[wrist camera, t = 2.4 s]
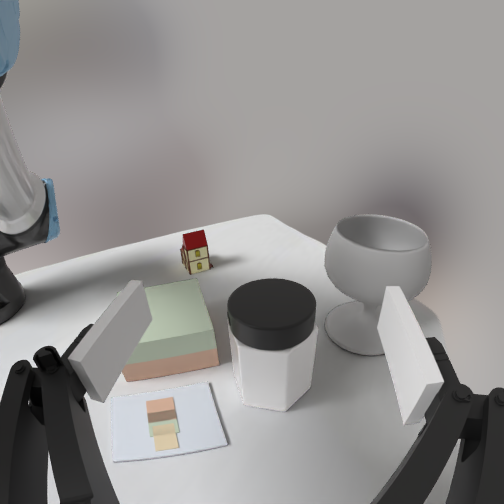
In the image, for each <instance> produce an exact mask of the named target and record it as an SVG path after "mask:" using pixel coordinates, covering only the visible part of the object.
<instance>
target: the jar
mask: <svg viewBox="0 0 504 504" xmlns="http://www.w3.org/2000/svg"><path fill="white" fill-rule="evenodd" d="M227 307H228V312H227V314H228V318H227V321H228V329H229V338H230V346H231V354H232V363H233V371H234V378H235V381H236V384H237V387H238V390H239V393H240V396H241V398H242V401H243V404H244V405H245V406H250V407H256V408H262V409H269V410H275V411H282V412H285V411H287V410H288V409H289V408H290V407H291V406H292V405H293V404H294V403H295V402H296V401H297V400H298V399H299V398H300V397H301V396H302V395H303V394H304V393H305V392H306V391H307V390H308V389H309V388H310V387H311V380H312V374H313V367H314V360H315V353H316V345H317V337H318V326H317V325H316V324H315V313H316V300H315V297H314V295H313V294H312V293H311V291H310V290H309V289H307V288H306V287H304V286H303V285H301V284H299V283H296V282H293V281H290V280H285V279H261V280H256V281H252V282H249V283H246V284H244V285H242V286H240V287H239V288H237V289H236V290H235V291H234V292H233V293H232V294H231V296H230V297H229V300H228V305H227Z"/></svg>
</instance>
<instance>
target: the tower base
mask: <svg viewBox="0 0 504 504" xmlns="http://www.w3.org/2000/svg"><path fill="white" fill-rule="evenodd" d="M144 289H145V293H146V297H147V301H148V305H149V308H150V312H151V316H152V319H153V320H152V322H151V323H150V325H149V326H148V328H147V330H146V331H145V333H144V335H143V336H142V338H141V340H140V341H139V343H138V345H137V346H136V348H135V350H134V351H133V353H132V355H131V356H130V358H129V360H128V362H127V363H126V365H125V367H124V368H123V370H122V373H123V375H124V377H125V379H126V381H127V382H130V381H137V380H143V379H150V378H156V377H162V376H167V375H173V374H178V373H184V372H189V371H194V370H199V369H204V368H208V367H213V366H218V365H219V359H218V353H217V347H216V340H215V334H214V328H213V325H212V322H211V320H210V317H209V314H208V311H207V308H206V305H205V302H204V299H203V296H202V293H201V289H200V286H199V283H198V280H197V278H195V279H189V280H184V281H178V282H173V283H167V284H162V285H156V286H150V287H145V288H144ZM119 293H120V292H117V296H118V295H119Z"/></svg>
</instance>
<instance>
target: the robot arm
mask: <svg viewBox="0 0 504 504" xmlns="http://www.w3.org/2000/svg"><path fill="white" fill-rule="evenodd" d="M19 16H20V13H19V3H18V0H0V91H1V90H2V88H3V86H4V84H5V82H6V78H7V75H8V71H9V70H10V69H11V68H12V67H13V65H14V64H15V61H16V59H17V55H18V50H19V40H20V25H19V20H18V19H19ZM59 233H60V227H59V222H58V214H57V208H56V201H55V193H54V186H53V181H52V179H45V178H44V179H40V178H39V177H38V176H37V175H36V174H35V173H33V172H30V171H28V169H27V167H26V165H25V162H24V160H23V157H22V155H21V152H20V150H19V147H18V145H17V142H16V139H15V137H14V134H13V131H12V128H11V125H10V122H9V119H8V116H7V113H6V110H5V107H4V104H3V100H2V97H1V93H0V324H1V323H3V322H4V321H6V320H8V319H9V318H10V317H12V316H13V315H14V314H15V313H16V312H17V311H18V310H19V309H20V308H21V306H22V305H23V303H24V301H25V298H26V295H25V292H24V290H23V287H22V285H21V283H20V282H18V280H17V279H16V277H15V276H14V275H13V273H12V272H11V271H10V269H9V268H8V267H7V265H6V262H5V259H4V256H5V255H7V254H10V253H13V252H16V251H19V250H22V249H25V248H28V247H31V246H34V245H37V244H40V243H47V242H48V241H49V240H52V239H55V238H56V237H58V235H59ZM152 320H153V319H152V316H151V312H150V308H149V305H148V301H147V297H146V293H145V289H144V285H143V281H141V280H130V282H129V283H128V284H127V285H126V286H125V287H124V289H123V290H122V291H121V292H120V293H119V295H118V296H117V297H116V298H115V299H114V300H113V302H112V303H111V304H110V305H109V306H108V308H107V309H106V310H105V311H104V313H103V314H102V315H101V316H100V317H99V319H98V320H97V321H96V322H95V324H90V325H88V326H87V327H86V328H84V329H83V330H82V331H81V332H80V334H79V335H78V337H76V339H75V340H74V342H72V344H71V345H70V346H69V347H68V349H67V350H66V351H65V353H64V354H63V355H62V356H61V358H60V356H59V354H58V352H57V350H56V348H54V347H53V346H45V347H43V348H41V349H39V350H38V351H37V352H36V353H35V354H34V357H33V360H34V362H35V363H36V365H37V367H38V368H32V366H31V364H30V363H29V361H27V360H20V361H18V362H16V363H15V364H14V365H13V366H12V367H11V369H10V372H9V375H8V379H7V382H6V385H5V388H4V392H3V395H2V399H1V402H0V504H48V503H47V471H48V450H49V455H50V460H51V465H52V470H53V475H54V479H55V483H56V487H57V491H58V495H59V499H60V504H120V503H119V501H118V499H117V496H116V494H115V491H114V489H113V486H112V484H111V481H110V479H109V476H108V473H107V471H106V468H105V465H104V462H103V459H102V456H101V453H100V450H99V447H98V444H97V440H96V437H95V434H94V430H93V427H92V423H91V419H90V415H89V411H88V407H87V403H86V400H85V398H84V395H85V393H86V391H87V393H88V394H89V396H90V398H91V399H93V400H96V401H99V402H103V403H104V402H105V400H106V398H107V396H108V395H109V393H110V391H111V389H112V388H113V386H114V384H115V382H116V381H117V379H118V377H119V375H120V374H121V372H122V370H123V368H124V367H125V365H126V363H127V362H128V360H129V358H130V356H131V355H132V353H133V351H134V350H135V348H136V346H137V345H138V343H139V341H140V340H141V338H142V336H143V335H144V333H145V331H146V330H147V328H148V326H149V325H150V323H151V322H152ZM377 329H378V333H379V336H380V339H381V342H382V346H383V349H384V352H385V356H386V359H387V363H388V366H389V370H390V373H391V377H392V381H393V384H394V388H395V392H396V396H397V400H398V404H399V408H400V412H401V416H402V421H403V425H409V424H415V423H420V421H421V420H422V418H423V416H424V415H425V419H426V424H425V425H424V427H423V428H422V430H421V431H420V432H419V434H418V435H419V436H418V437H417V439H416V440H415V442H414V444H413V445H412V447H411V449H410V450H409V452H408V453H407V455H406V456H405V458H404V459H403V461H402V462H401V464H400V465H399V467H398V468H397V470H396V471H395V472H394V474H393V475H392V477H391V478H390V479H389V481H388V482H387V483H386V485H385V486H384V487H383V489H382V490H381V491H380V492H379V494H378V495H377V496H376V497H375V499H374V500H373V501H372V502H371V504H423V503H424V501H425V500H426V498H427V497H428V495H429V493H430V492H431V490H432V488H433V487H434V485H435V483H436V482H437V480H438V478H439V476H440V474H441V473H442V471H443V469H444V467H445V465H446V463H447V461H448V459H449V457H450V455H451V453H452V451H453V449H454V447H455V445H456V443H457V440H458V439H461V442H460V448H459V453H458V458H457V462H456V467H455V471H454V475H453V479H452V483H451V487H450V490H449V494H448V497H447V501H446V504H504V389H503V388H495V389H493V390H492V391H491V392H490V394H489V395H478V394H473V392H472V391H471V390H470V388H469V387H467V386H466V385H463V384H460V382H459V380H458V378H457V376H456V373H455V371H454V369H453V367H452V364H451V362H450V360H449V358H448V356H447V354H446V352H445V350H444V347H443V345H442V344H441V343H440V342H439V341H438V340H437V339H436V338H435V337H431V338H425V336H424V334H423V332H422V330H421V328H420V326H419V324H418V322H417V319H416V317H415V315H414V313H413V311H412V309H411V307H410V305H409V303H408V301H407V300H406V298H405V296H404V294H403V292H402V290H401V288H400V286H386V290H385V295H384V299H383V304H382V309H381V313H380V317H379V321H378V325H377ZM28 401H29V405H28Z"/></svg>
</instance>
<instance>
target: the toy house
mask: <svg viewBox="0 0 504 504" xmlns="http://www.w3.org/2000/svg"><path fill="white" fill-rule="evenodd" d="M180 251H181V257H182V263H183V264H184V265H185V267H186V269H187V270H188V271H189V274H190V275H191V274H194V273H198V272H202V271H205V270H209V269H210V268H211V267H213V265H212V264H210V261H209V253H208V245H207V241H206V237H205V233H204V230H200V231H196V232H191V233H187V234H183V245H182V248H181V249H180ZM213 268H214V267H213Z"/></svg>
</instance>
